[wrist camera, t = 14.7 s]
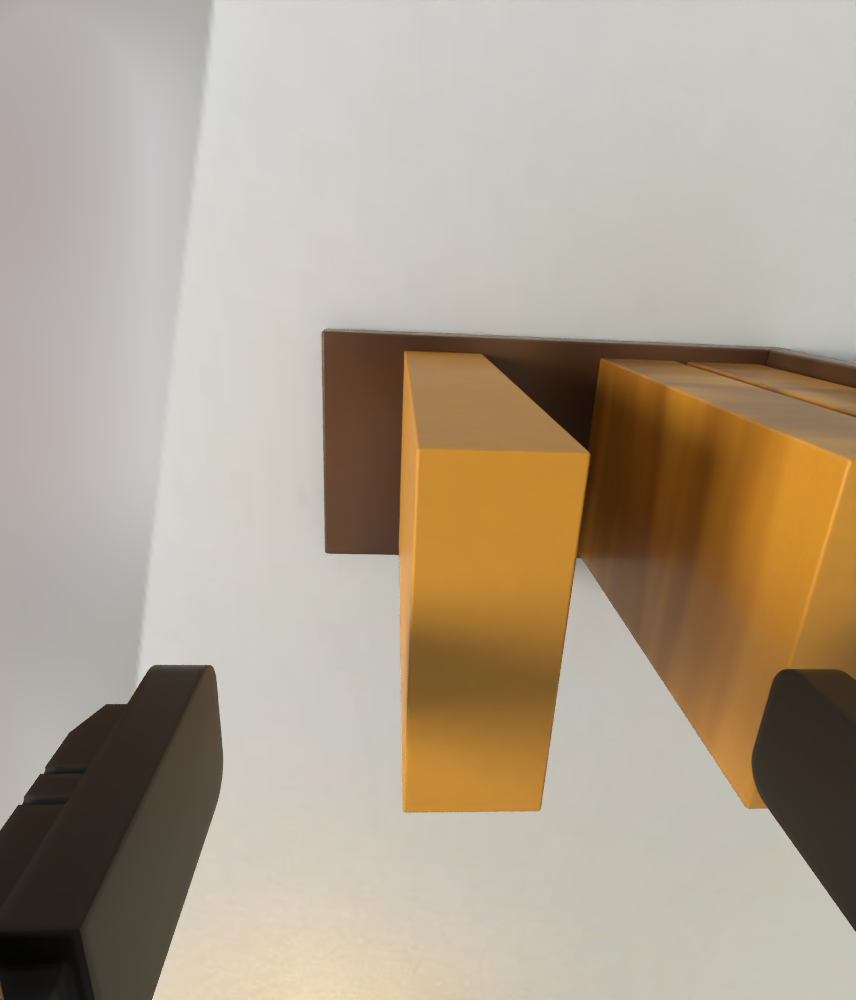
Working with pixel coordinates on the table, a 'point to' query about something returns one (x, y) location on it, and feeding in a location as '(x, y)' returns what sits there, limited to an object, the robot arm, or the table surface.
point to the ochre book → (481, 583)
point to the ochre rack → (656, 499)
